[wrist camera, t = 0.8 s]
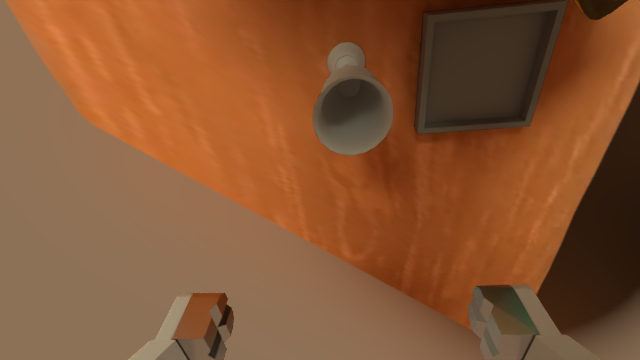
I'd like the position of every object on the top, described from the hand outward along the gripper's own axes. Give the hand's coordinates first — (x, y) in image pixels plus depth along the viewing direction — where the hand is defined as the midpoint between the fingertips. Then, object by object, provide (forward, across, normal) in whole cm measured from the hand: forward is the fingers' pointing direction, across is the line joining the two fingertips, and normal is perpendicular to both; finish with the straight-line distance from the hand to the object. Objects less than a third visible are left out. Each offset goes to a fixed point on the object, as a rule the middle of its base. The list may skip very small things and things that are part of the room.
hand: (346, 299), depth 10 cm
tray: (+37, -18, +3) cm, 41 cm away
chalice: (+37, -1, +1) cm, 37 cm away
